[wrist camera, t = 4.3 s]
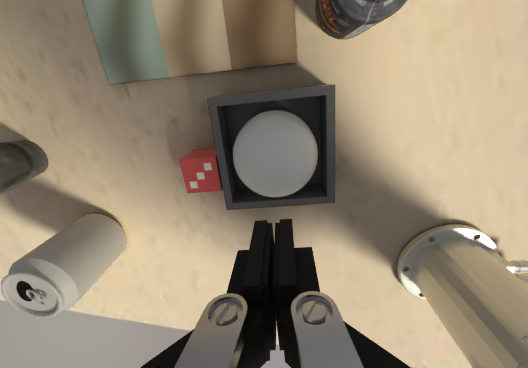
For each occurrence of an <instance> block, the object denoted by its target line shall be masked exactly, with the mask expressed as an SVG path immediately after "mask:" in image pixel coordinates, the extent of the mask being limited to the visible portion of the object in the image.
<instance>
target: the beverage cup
mask: <svg viewBox="0 0 528 368" xmlns="http://www.w3.org/2000/svg"><path fill="white" fill-rule="evenodd" d="M47 167H48V159H47V156H46V154H45V153H44V151H43V150H42V149H41V148H40V147H39V146H38V145H36V144H35V143H33V142H30V141H18V142H4V143H0V194H2V193H4V192H6V191H8V190H10V189H12V188H14V187H16V186H18V185H20V184H22V183H24V182H26V181H28V180H30V179H32V178H34V177H35V176H37V175H38V174H40V173H42V172H44V171H45V170H46V169H47Z"/></svg>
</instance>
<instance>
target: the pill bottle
mask: <svg viewBox="0 0 528 368" xmlns="http://www.w3.org/2000/svg"><path fill="white" fill-rule="evenodd" d="M406 1H407V0H316V17H317V20H318V23H319V25H320V27H321V28H322V29H323V31H324V32H326V33H327V34H328V35H329V36H331V37H333V38H336V39H349V38H353V37H355V36H357V35H359V34H360V33H362V32H364V31H366V30H367V29H369V28H371V27H372V26H374V25H376V24H378V23H379V22H381V21H383V20H385V19H386V18H388V17H390V16H391V15H393V14H394V13H395V12H397V11H398V10H399V9H400V8H401V7H402V6H403V5H404V4H405V3H406Z"/></svg>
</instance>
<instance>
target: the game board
mask: <svg viewBox="0 0 528 368" xmlns="http://www.w3.org/2000/svg"><path fill="white" fill-rule="evenodd" d="M83 2H84V5H85V8H86V12H87V15H88V18H89V21H90V24H91V28H92V31H93V34H94V37H95V40H96V44H97V47H98V50H99V53H100V56H101V60H102V63H103V66H104V69H105V73H106V76H107V79H108V82H109V84H118V83H127V82H135V81H144V80H152V79H161V78H169V77H177V76H186V75H194V74H203V73H211V72H220V71H228V70H237V69H245V68H254V67H262V66H271V65H279V64H287V63H296V62H297V47H296V26H295V6H294V0H83Z"/></svg>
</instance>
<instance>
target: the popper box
mask: <svg viewBox="0 0 528 368" xmlns="http://www.w3.org/2000/svg"><path fill="white" fill-rule="evenodd" d="M207 102H208V108H209V113H210V119H211V124H212V130H213V136H214V141H215V147H216V149H205V150H194V151H191V152H189V153H188V154H187V155H185V156H184V157H183V158H182V159H180V163H181V168H182V172H183V176H184V180H185V184H186V189H187V193H197V192H210V191H222V189H223V191H224V197H225V203H226V208H227V210H234V209H249V208H264V207H279V206H294V205H309V204H324V203H335V85H330V84H324V85H315V86H306V87H297V88H288V89H278V90H269V91H260V92H251V93H242V94H233V95H223V96H216V97H212V98H208V99H207ZM271 108H281V109H286V110H289V111H292V112H293V113H295V114H297V115H298V116H299V117H301V118H302V119H303V120H304V122H305V123H306V124H307V126H308V127H309V129H310V130H311V132H312V134H313V136H314V138H315V141H316V144H317V149H318V159H317V165H316V168H315V171H314V173H313V175H312V177H311V178H310V180H309V181H308V182H307V183H306V185H304V186H303V187H302V188H301V189H300V190H298V191H297V192H295V193H293V194H290V195H287V196H283V197H267V196H263V195H260V194H258V193H256V192H254V191H252V190H251V189H249V188H248V187H247V186H246V185H245V184H244V183H243V182H242V180H241V179H240V178H239V176H238V174H237V172H236V169H235V166H234V162H233V148H234V143H235V140H236V138H237V136H238V134H239V132H240V131H241V129H242V128H243V126H244V125H245V124H246V123H247V122H248V120H249V119H250V118H251V117H253V116H254V115H255V114H257V113H258V112H261V111H263V110H266V109H271Z"/></svg>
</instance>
